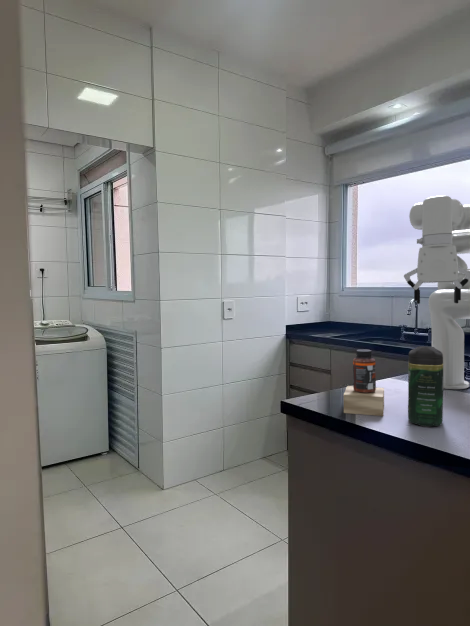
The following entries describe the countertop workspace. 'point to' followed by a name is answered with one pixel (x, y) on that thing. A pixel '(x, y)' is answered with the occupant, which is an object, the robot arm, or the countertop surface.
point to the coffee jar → (425, 386)
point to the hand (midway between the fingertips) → (436, 303)
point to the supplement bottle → (364, 372)
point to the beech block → (364, 402)
